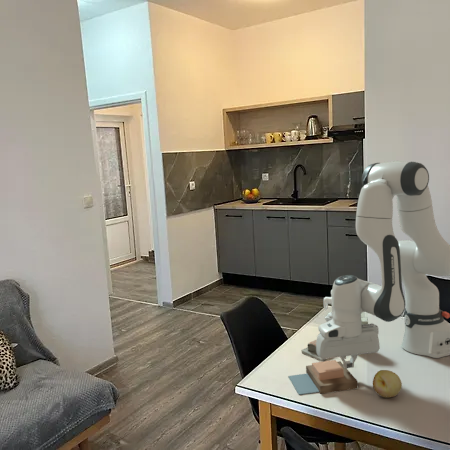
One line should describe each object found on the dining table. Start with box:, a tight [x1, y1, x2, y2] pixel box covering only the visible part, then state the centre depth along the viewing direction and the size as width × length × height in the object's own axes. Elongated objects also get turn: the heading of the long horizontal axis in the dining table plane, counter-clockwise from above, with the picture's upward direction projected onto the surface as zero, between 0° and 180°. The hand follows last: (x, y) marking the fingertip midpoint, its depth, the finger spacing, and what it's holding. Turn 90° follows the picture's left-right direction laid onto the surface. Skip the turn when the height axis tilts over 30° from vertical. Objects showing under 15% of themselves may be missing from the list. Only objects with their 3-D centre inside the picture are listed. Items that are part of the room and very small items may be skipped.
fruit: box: [372, 369, 403, 398], centre depth 134 cm, size 8×8×8 cm
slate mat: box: [288, 373, 320, 396], centre depth 145 cm, size 8×12×1 cm, turn 8°
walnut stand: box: [305, 360, 359, 395], centre depth 146 cm, size 12×14×2 cm
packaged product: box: [301, 339, 327, 362], centre depth 169 cm, size 18×5×10 cm
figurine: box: [323, 289, 334, 322], centre depth 192 cm, size 7×9×15 cm
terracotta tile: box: [311, 359, 344, 380], centre depth 146 cm, size 8×7×2 cm
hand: (348, 367), depth 146 cm, fingers closed
